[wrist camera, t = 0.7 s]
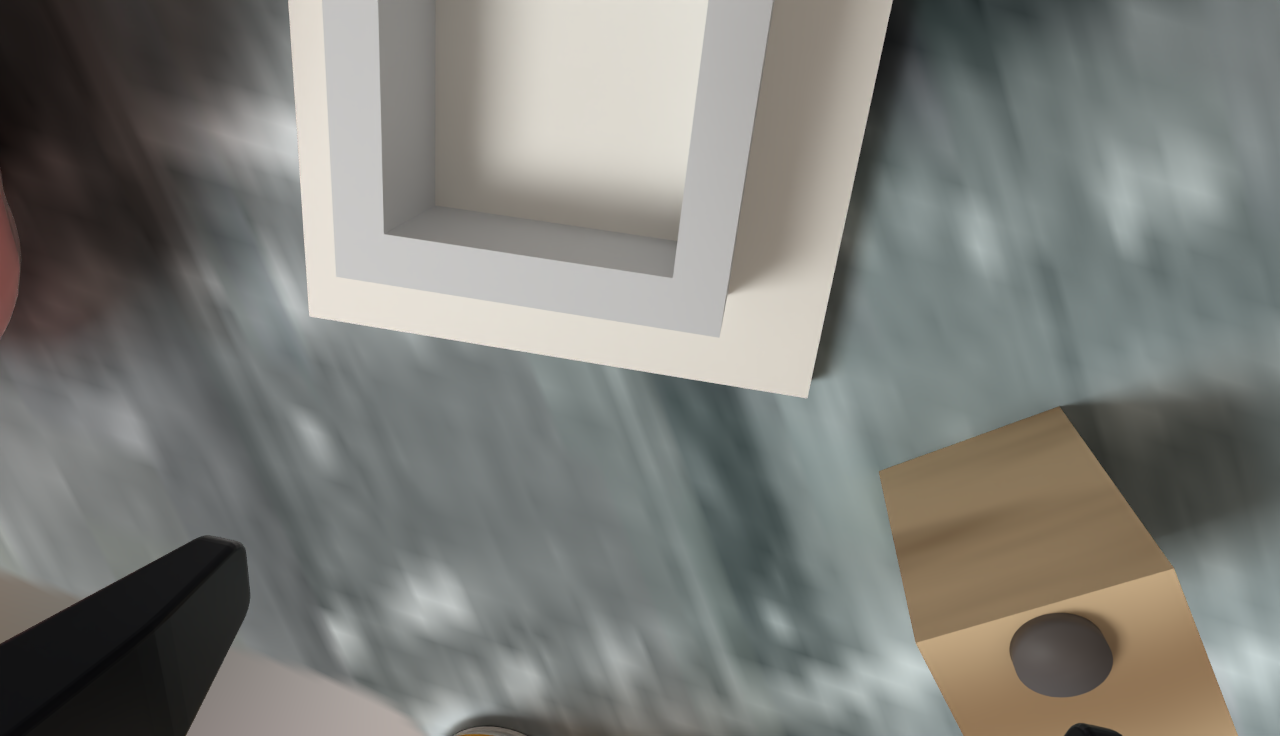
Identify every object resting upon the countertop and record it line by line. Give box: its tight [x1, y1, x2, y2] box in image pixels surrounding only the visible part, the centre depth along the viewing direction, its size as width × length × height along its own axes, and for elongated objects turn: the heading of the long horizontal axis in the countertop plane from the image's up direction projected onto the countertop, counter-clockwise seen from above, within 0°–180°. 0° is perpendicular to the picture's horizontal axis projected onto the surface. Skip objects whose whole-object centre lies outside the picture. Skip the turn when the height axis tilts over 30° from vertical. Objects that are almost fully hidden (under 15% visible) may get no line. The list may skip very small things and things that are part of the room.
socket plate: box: [288, 0, 893, 398], centre depth 18 cm, size 14×14×4 cm
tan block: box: [879, 407, 1238, 736], centre depth 20 cm, size 5×5×7 cm
